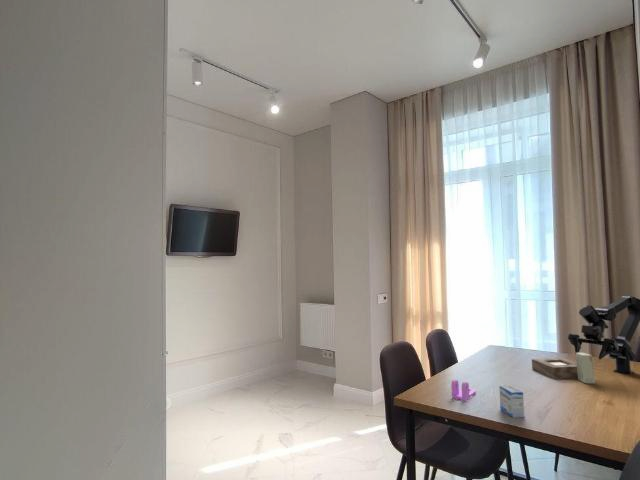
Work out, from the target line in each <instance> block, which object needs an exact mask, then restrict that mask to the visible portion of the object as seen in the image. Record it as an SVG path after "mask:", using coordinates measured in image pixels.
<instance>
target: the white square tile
mask: <svg viewBox="0 0 640 480" xmlns="http://www.w3.org/2000/svg"><path fill="white" fill-rule="evenodd" d="M550 363H551V364H553V365H567V364H564V363H561V362H550Z"/></svg>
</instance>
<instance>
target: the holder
mask: <svg viewBox="0 0 640 480" xmlns="http://www.w3.org/2000/svg"><path fill="white" fill-rule="evenodd" d="M550 362H561V363H564V364H567V365H553V364H551V363H550ZM531 365H532V366H531V368H532V369H531V370H533V371H535V372H538V373H540V374H543V375H544V376H545V375H546V376H547V377H550V378H553V379H554V380H555V379H570V378H571V379H574V378H575V379H576V378H577V379H578V372H577V361H572V360H569V359H566V358H563V357H555V358H554V357H553V358H552V357H548V358H532V359H531Z"/></svg>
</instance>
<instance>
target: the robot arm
mask: <svg viewBox="0 0 640 480" xmlns="http://www.w3.org/2000/svg"><path fill="white" fill-rule="evenodd" d="M625 309H626V310H627V312H628V315H627V317H626V319H625V321H624V322H623V325H622V327H621V329H620V331H619V333H618V335H617V336H616V337H610V338H608V337H607V338H606V337H605V336H604V333H605V329H609V326H608V324H607V322H612V321H614V320H615V319H616V318H617V317H618V316H617V315H618V313H620V312H622V311H624V310H625ZM578 314H579V316H580V317H582V319H583V320H584V321H585V322H586V323H587V324H589V325H584V324H583V325H581V331H580V332H581V333H583V336H584V337H581V336H580V335H579V334H577V333H569V334H568V335H567V339H568V340H569V342H570V344H571V345H572V346H573V347H574V353H575V355H576V353H580V352H581V349H582V344H583V343H585V344H590V345H595V346H601V350H600V352H599V353H598V360H600V361H601V360H602V359H603V358H605V357H606V356H608V355H609V358H614V360H615V361H614V363H615V368H614V369H613V372H614V373H615V372H617V373H623V374H628V375H630V374H632V373H634V370H633V369H632V368H631V367H632V366H631V362H634V361H635V360H636V358H637V357H636V354H635V353H634V352H633V350H632V344H631V340H632V339H633V337H634V334H635V332H636V331H637V328H638V326H639V324H640V298H637V297H636V296H633V295H622V296H620V298H618V299H616V300H615V301H613V302H612V303H610V304H608V305H604V306H599V307H596V308H595V307H593V306H592V305H586V306H585V307H582V308H581V309H579V311H578ZM606 321H607V322H606ZM602 339H603V340H602Z"/></svg>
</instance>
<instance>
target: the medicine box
mask: <svg viewBox="0 0 640 480" xmlns="http://www.w3.org/2000/svg"><path fill="white" fill-rule="evenodd" d="M498 388H499V408H500V410H501V411H502V412H504V413H505V414H507V415H508V416H510V417H512V418H514V419H515V418H516V419H517V418H525V405H524V404H525V402H524V400H525V399H524V392H522V391H521V390H518V388H515V387H513V386H511V385H499V387H498Z"/></svg>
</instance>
